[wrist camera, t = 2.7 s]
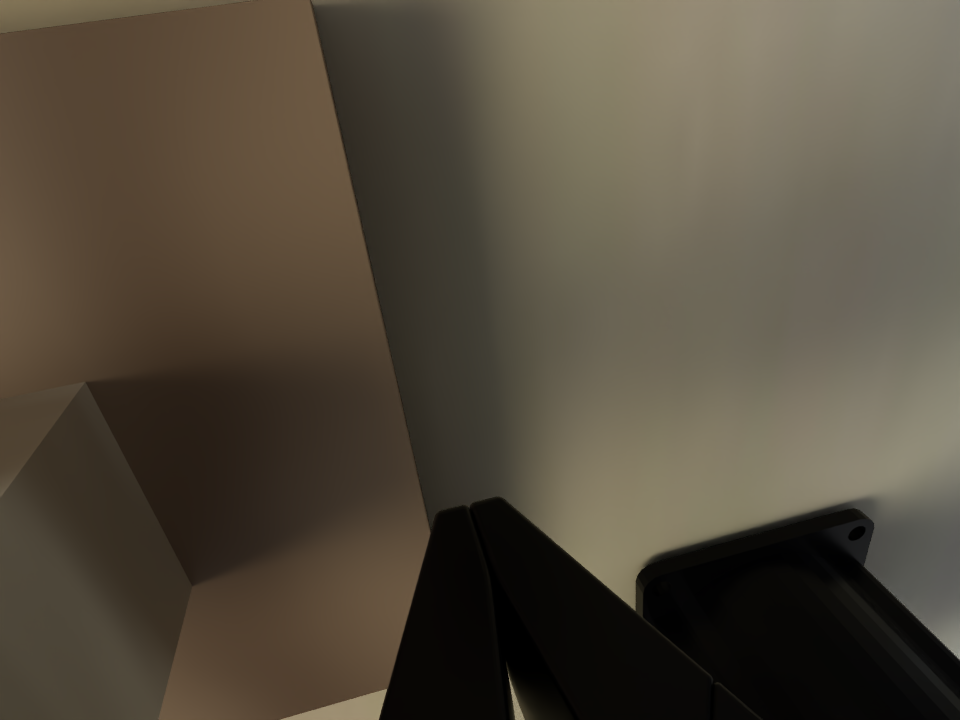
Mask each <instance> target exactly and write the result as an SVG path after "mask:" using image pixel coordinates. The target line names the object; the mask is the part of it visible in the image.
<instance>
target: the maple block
mask: <svg viewBox="0 0 960 720" xmlns="http://www.w3.org/2000/svg"><path fill="white" fill-rule="evenodd" d="M191 590H192V585H191V583H190V581H189V579H188V577H187V575H186V573H185V571H184V569H183V568H182V566H181V564H180V562H179V560H178V558H177V556H176V554H175V552H174V550H173V548H172V547H171V545H170V543H169V541H168V539H167V537H166V535H165V533H164V531H163V529H162V527H161V526H160V524H159V522H158V520H157V518H156V516H155V514H154V512H153V510H152V508H151V506H150V504H149V503H148V501H147V499H146V497H145V495H144V493H143V491H142V489H141V487H140V485H139V483H138V482H137V480H136V478H135V476H134V474H133V472H132V470H131V468H130V466H129V464H128V462H127V461H126V459H125V457H124V455H123V453H122V451H121V449H120V447H119V445H118V443H117V441H116V440H115V438H114V436H113V434H112V432H111V430H110V428H109V426H108V424H107V422H106V420H105V419H104V417H103V415H102V413H101V411H100V409H99V407H98V405H97V403H96V401H95V399H94V397H93V396H92V394H91V392H90V390H89V388H88V386H87V384H86V382H82V383H77V384H72V385H67V386H62V387H57V388H52V389H48V390H43V391H38V392H33V393H28V394H23V395H18V396H13V397H9V398H4V399H0V720H158V719H159V715H160V711H161V707H162V703H163V699H164V695H165V691H166V688H167V684H168V680H169V676H170V672H171V668H172V664H173V660H174V656H175V652H176V648H177V644H178V641H179V637H180V633H181V629H182V625H183V621H184V617H185V613H186V609H187V605H188V601H189V597H190V594H191Z"/></svg>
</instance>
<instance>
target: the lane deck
mask: <svg viewBox="0 0 960 720" xmlns="http://www.w3.org/2000/svg"><path fill="white" fill-rule="evenodd" d="M82 382H86V384H87V386H88V388H89V390H90V392H91V394H92V396H93V397H94V399H95V401H96V403H97V405H98V407H99V409H100V411H101V413H102V415H103V417H104V419H105V420H106V422H107V424H108V426H109V428H110V430H111V432H112V434H113V436H114V438H115V440H116V441H117V443H118V445H119V447H120V449H121V451H122V453H123V455H124V457H125V459H126V461H127V462H128V464H129V466H130V468H131V470H132V472H133V474H134V476H135V478H136V480H137V482H138V483H139V485H140V487H141V489H142V491H143V493H144V495H145V497H146V499H147V501H148V503H149V504H150V506H151V508H152V510H153V512H154V514H155V516H156V518H157V520H158V522H159V524H160V526H161V527H162V529H163V531H164V533H165V535H166V537H167V539H168V541H169V543H170V545H171V547H172V548H173V550H174V552H175V554H176V556H177V558H178V560H179V562H180V564H181V566H182V568H183V569H184V571H185V573H186V575H187V577H188V579H189V581H190V583H191V585H192V590H191V594H190V597H189V601H188V605H187V609H186V613H185V617H184V621H183V625H182V629H181V633H180V637H179V641H178V644H177V648H176V652H175V656H174V660H173V664H172V668H171V672H170V676H169V680H168V684H167V688H166V691H165V695H164V699H163V703H162V707H161V711H160V715H159V719H158V720H280V719H283V718H287V717H290V716H294V715H297V714H300V713H304V712H307V711H311V710H314V709H318V708H321V707H325V706H328V705H332V704H335V703H339V702H342V701H346V700H349V699H353V698H356V697H359V696H363V695H366V694H370V693H373V692H377V691H380V690H384V689H387V688H388V685H389V681H390V678H391V674H392V671H393V667H394V663H395V660H396V656H397V652H398V649H399V645H400V642H401V638H402V634H403V631H404V627H405V624H406V620H407V616H408V613H409V609H410V606H411V602H412V598H413V595H414V591H415V587H416V584H417V580H418V577H419V573H420V569H421V566H422V562H423V559H424V555H425V551H426V548H427V544H428V540H429V537H430V533H431V529H430V525H429V520H428V516H427V511H426V507H425V502H424V498H423V494H422V489H421V485H420V480H419V476H418V471H417V467H416V462H415V458H414V454H413V449H412V445H411V440H410V436H409V431H408V427H407V422H406V418H405V413H404V409H403V405H402V400H401V396H400V391H399V387H398V382H397V378H396V373H395V369H394V365H393V360H392V356H391V351H390V347H389V342H388V338H387V333H386V329H385V324H384V320H383V316H382V311H381V307H380V302H379V298H378V293H377V289H376V284H375V280H374V276H373V271H372V267H371V262H370V258H369V253H368V249H367V244H366V240H365V235H364V231H363V227H362V222H361V218H360V213H359V209H358V204H357V200H356V195H355V191H354V186H353V182H352V178H351V173H350V169H349V164H348V160H347V155H346V151H345V146H344V142H343V138H342V133H341V129H340V124H339V120H338V115H337V111H336V106H335V102H334V97H333V93H332V89H331V84H330V80H329V75H328V71H327V66H326V62H325V57H324V53H323V49H322V44H321V40H320V35H319V31H318V26H317V22H316V17H315V13H314V8H313V4H312V2H311V0H255V1H247V2H240V3H232V4H224V5H217V6H209V7H201V8H194V9H186V10H178V11H171V12H163V13H155V14H148V15H140V16H132V17H124V18H117V19H109V20H101V21H94V22H86V23H78V24H71V25H63V26H55V27H48V28H40V29H32V30H25V31H17V32H9V33H1V34H0V399H4V398H9V397H13V396H18V395H23V394H28V393H33V392H38V391H43V390H48V389H52V388H57V387H62V386H67V385H72V384H77V383H82Z"/></svg>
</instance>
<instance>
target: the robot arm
mask: <svg viewBox="0 0 960 720" xmlns="http://www.w3.org/2000/svg"><path fill="white" fill-rule="evenodd" d="M873 529H874V523H873V522H872V520H871V519H869V518H868V517H867V516H866V515H865V514H864V513H863V512H861V511H860V510H858V509H855V508H853V509H847V510H843V511H840V512H836V513H833V514H829V515H825V516H822V517H818V518H814V519H811V520H807V521H804V522H800V523H796V524H793V525H789V526H786V527H782V528H778V529H775V530H771V531H767V532H764V533H760V534H757V535H753V536H749V537H746V538H742V539H739V540H735V541H731V542H728V543H724V544H720V545H717V546H713V547H710V548H706V549H702V550H699V551H695V552H692V553H688V554H684V555H681V556H677V557H673V558H670V559H666V560H663V561H659V562H655V563H653V564H650V565H648V566H646V567H645V568H644V569H643V570H641V572H640V573H639V574H638V576H637V579H636V611H635V610H633V609H632V608H631V607H630V606H629V605H628V604H626V603H625V602H624V601H623V600H622V599H621V598H619V597H618V596H617V595H616V594H615V593H614V592H612V591H611V590H610V589H609V588H608V587H607V586H605V585H604V584H603V583H602V582H601V581H600V580H598V579H597V578H596V577H595V576H594V575H592V574H591V573H590V572H589V571H588V570H587V569H585V568H584V567H583V566H582V565H581V564H580V563H578V562H577V561H576V560H575V559H574V558H573V557H571V556H570V555H569V554H568V553H567V552H566V551H564V550H563V549H562V548H561V547H560V546H559V545H557V544H556V543H555V542H554V541H553V540H551V539H550V538H549V537H548V536H547V535H546V534H544V533H543V532H542V531H541V530H540V529H539V528H537V527H536V526H535V525H534V524H533V523H532V522H530V521H529V520H528V519H527V518H526V517H525V516H523V515H522V514H521V513H520V512H519V511H518V510H516V509H515V508H514V507H513V506H512V505H511V504H509V503H508V502H507V501H506V500H505V499H503V498H501V497H493V498H489V499H485V500H481V501H477V502H474V503H472V504H471V506H470V509H469V507H468V506H466V505H461V506H457V507H453V508H449V509H445V510H441V511H439V512H438V513H437V514H436V516H435V519H434V522H433V526H432V530H431V533H430V537H429V540H428V544H427V548H426V551H425V555H424V559H423V562H422V566H421V569H420V573H419V577H418V580H417V584H416V587H415V591H414V595H413V598H412V602H411V606H410V609H409V613H408V616H407V620H406V624H405V627H404V631H403V634H402V638H401V642H400V645H399V649H398V652H397V656H396V660H395V663H394V667H393V671H392V674H391V678H390V681H389V685H388V689H387V692H386V696H385V699H384V703H383V707H382V710H381V714H380V718H379V720H515V715H514V708H513V701H512V695H511V689H510V683H509V677H510V680H511V683H512V686H513V689H514V692H515V695H516V697H517V700H518V703H519V706H520V708H521V711H522V713H523V716H524V719H525V720H960V660H959V659H958V658H957V657H956V656H955V655H954V654H953V653H952V652H951V651H950V650H949V649H948V648H947V647H946V646H945V645H944V644H943V643H942V642H941V641H940V640H939V639H938V638H937V637H936V636H935V635H934V634H933V633H932V632H931V631H930V630H929V629H928V628H927V627H925V626H924V625H923V624H922V623H921V622H920V621H919V620H918V619H917V618H916V617H915V616H914V615H913V614H912V613H911V612H910V611H909V610H908V609H907V608H906V607H905V606H904V605H903V604H902V603H901V602H900V601H899V600H898V599H897V598H896V597H895V596H894V595H893V594H892V593H891V592H889V591H888V590H887V589H886V588H885V587H884V586H883V585H882V584H881V583H880V582H879V581H878V580H877V579H876V578H875V577H874V576H873V575H872V574H871V573H870V572H869V571H868V570H867V569H866V568H865V567H864V563H865V559H866V555H867V552H868V548H869V544H870V541H871V537H872V533H873ZM507 670H508V671H507ZM508 673H509V677H508Z"/></svg>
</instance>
